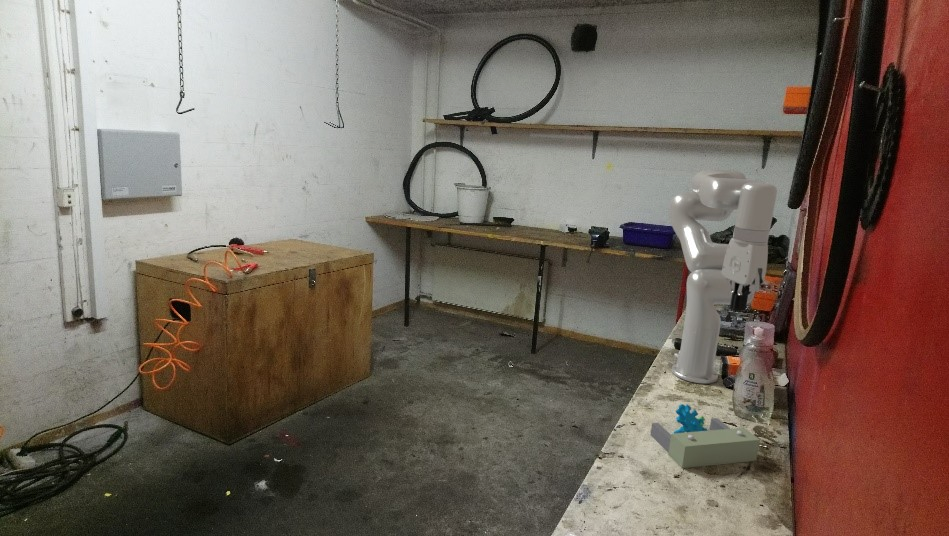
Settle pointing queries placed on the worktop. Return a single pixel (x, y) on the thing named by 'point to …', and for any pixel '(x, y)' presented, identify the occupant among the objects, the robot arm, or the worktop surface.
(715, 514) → the worktop surface
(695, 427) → the blue bumpy irregular piece
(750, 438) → the grey-green u-shaped bracket
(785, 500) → the worktop surface
